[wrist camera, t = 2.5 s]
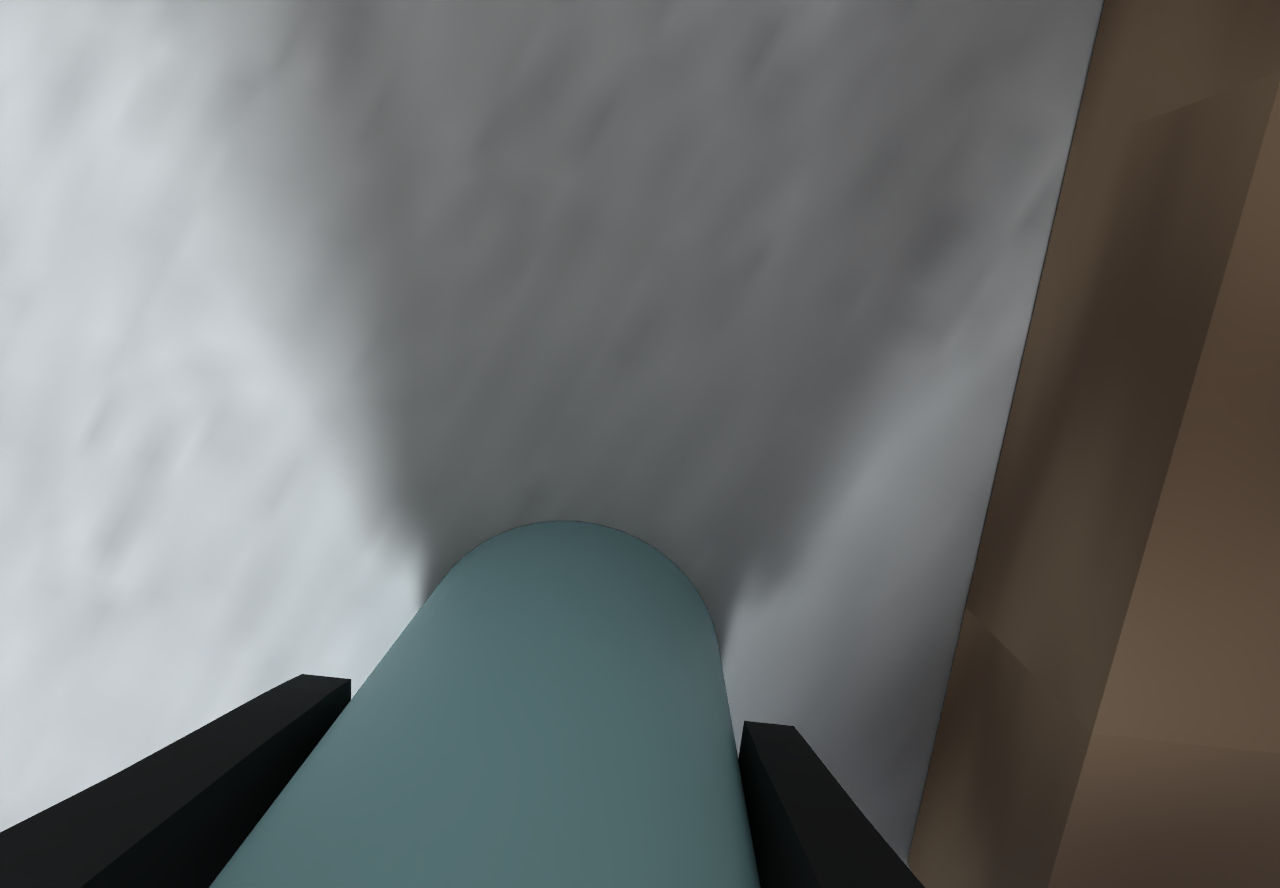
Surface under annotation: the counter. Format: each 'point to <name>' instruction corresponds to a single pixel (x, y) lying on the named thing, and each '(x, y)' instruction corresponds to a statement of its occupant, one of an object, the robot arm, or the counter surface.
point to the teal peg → (526, 737)
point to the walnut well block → (1135, 497)
